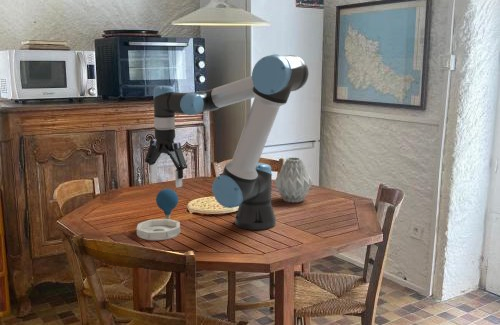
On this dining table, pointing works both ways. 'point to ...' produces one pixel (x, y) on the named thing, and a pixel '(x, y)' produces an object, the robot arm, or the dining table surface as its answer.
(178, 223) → the lamp base
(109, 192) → the dining table surface
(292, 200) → the vase
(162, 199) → the light bulb
